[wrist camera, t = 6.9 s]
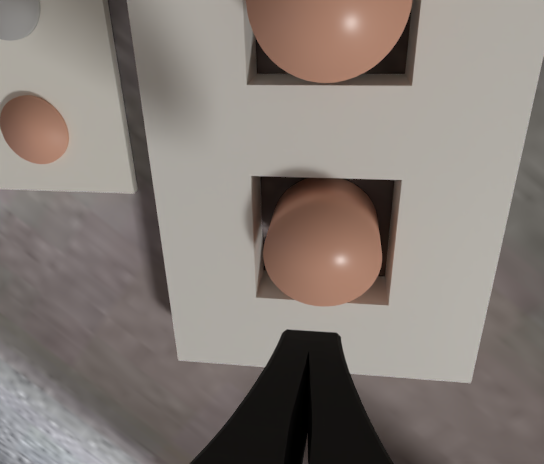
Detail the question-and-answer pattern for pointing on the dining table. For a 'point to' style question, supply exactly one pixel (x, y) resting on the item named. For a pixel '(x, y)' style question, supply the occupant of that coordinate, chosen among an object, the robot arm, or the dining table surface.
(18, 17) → the pattern card
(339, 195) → the button
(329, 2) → the button
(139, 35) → the button board
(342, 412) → the robot arm
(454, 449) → the dining table surface
